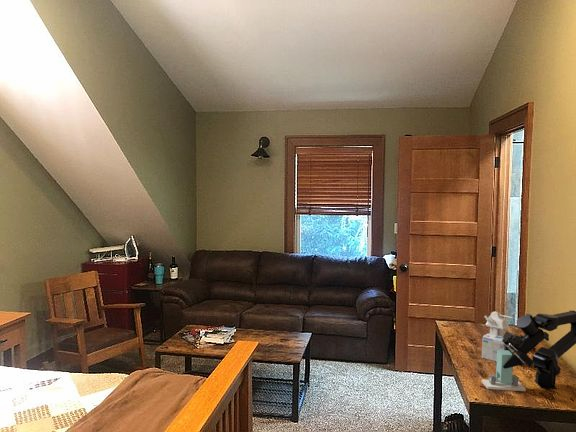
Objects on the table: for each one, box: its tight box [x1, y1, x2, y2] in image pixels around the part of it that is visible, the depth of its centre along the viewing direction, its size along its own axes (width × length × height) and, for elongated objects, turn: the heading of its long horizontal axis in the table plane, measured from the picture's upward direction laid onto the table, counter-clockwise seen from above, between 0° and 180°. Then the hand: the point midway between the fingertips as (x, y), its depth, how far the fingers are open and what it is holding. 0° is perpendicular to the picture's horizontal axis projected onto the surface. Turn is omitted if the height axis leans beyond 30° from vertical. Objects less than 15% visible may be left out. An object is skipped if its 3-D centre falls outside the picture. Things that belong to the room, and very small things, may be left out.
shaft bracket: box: [481, 373, 527, 392], centre depth 192 cm, size 15×7×4 cm, turn 86°
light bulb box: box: [481, 333, 504, 363], centre depth 222 cm, size 11×7×11 cm, turn 47°
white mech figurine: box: [483, 311, 514, 337], centre depth 238 cm, size 12×13×18 cm
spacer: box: [495, 350, 514, 384], centre depth 192 cm, size 4×5×12 cm
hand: (501, 365), depth 192 cm, fingers closed on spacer, 5 cm apart
